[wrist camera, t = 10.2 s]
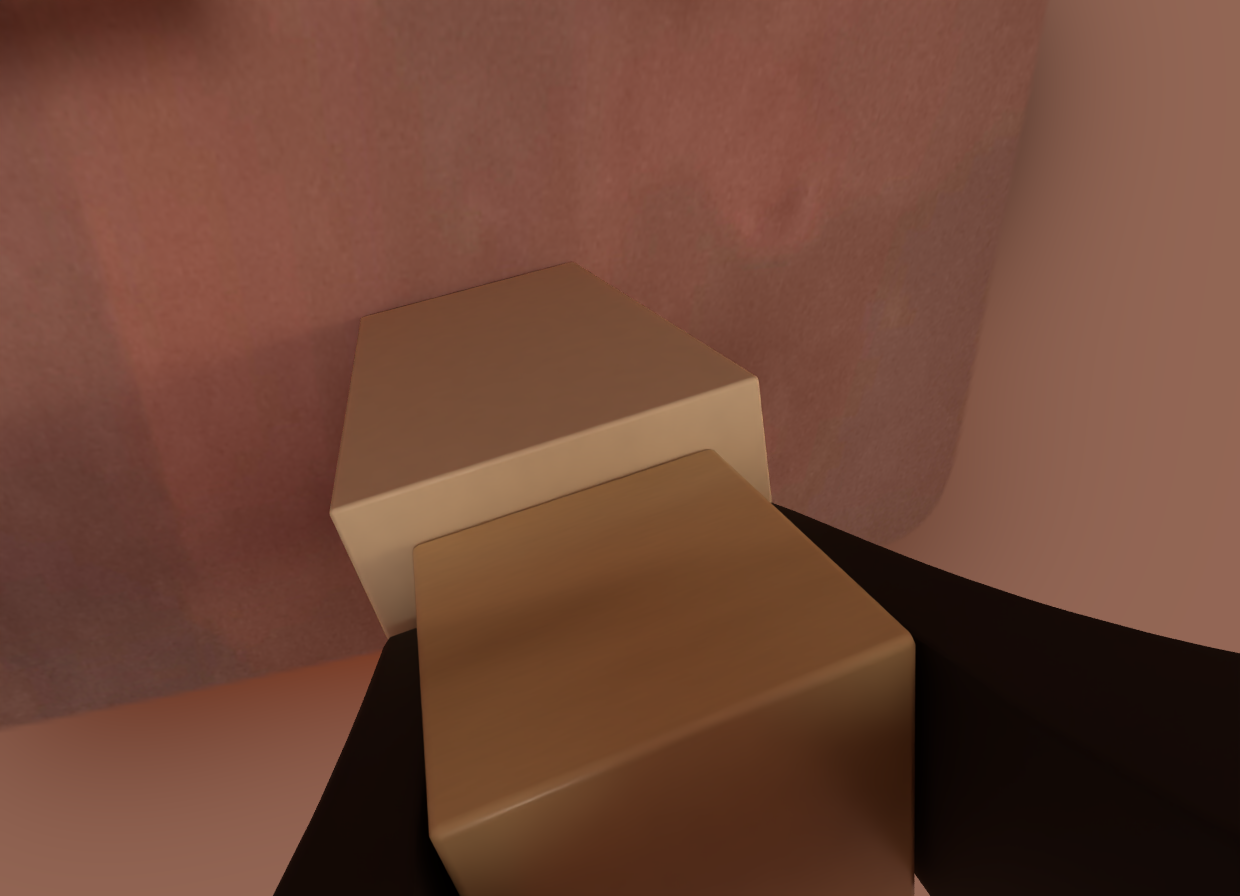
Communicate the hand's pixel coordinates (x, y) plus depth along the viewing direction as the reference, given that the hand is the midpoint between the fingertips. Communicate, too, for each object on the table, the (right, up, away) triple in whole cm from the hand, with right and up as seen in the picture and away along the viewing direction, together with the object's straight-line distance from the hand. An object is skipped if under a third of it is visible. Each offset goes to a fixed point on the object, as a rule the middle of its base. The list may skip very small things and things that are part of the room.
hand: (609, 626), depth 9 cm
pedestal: (-3, +4, +9) cm, 10 cm away
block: (0, 0, 0) cm, 0 cm away
